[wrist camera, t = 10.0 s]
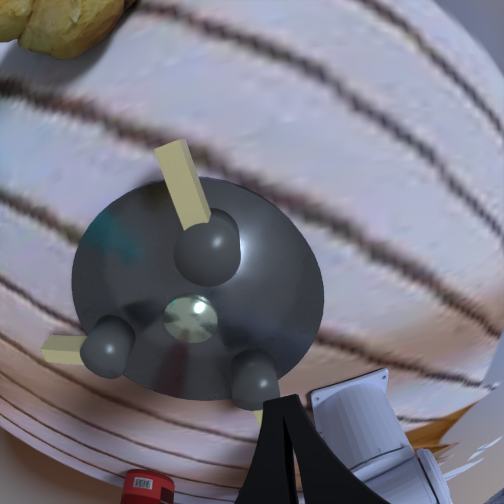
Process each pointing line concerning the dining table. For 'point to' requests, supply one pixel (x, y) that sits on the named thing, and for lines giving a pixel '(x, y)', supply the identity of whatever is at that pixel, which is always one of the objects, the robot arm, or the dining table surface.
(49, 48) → the bread roll
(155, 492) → the canned food
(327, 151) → the dining table surface
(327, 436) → the robot arm
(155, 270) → the tribrach plate
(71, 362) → the grey knob khaki handle
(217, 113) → the dining table surface
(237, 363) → the knob near arm
